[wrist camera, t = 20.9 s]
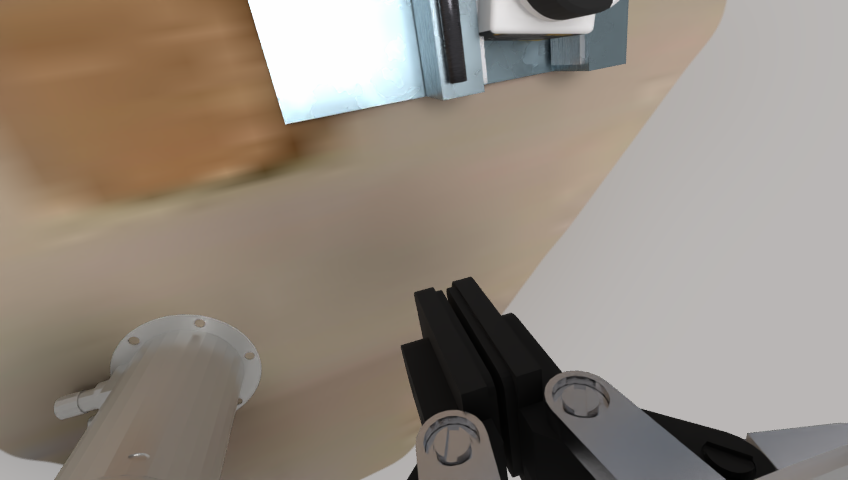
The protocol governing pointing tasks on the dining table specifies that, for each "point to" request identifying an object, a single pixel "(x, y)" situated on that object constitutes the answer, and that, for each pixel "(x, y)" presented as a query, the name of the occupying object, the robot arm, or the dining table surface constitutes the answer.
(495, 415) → the robot arm
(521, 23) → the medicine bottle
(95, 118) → the dining table surface
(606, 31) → the base
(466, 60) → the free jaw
